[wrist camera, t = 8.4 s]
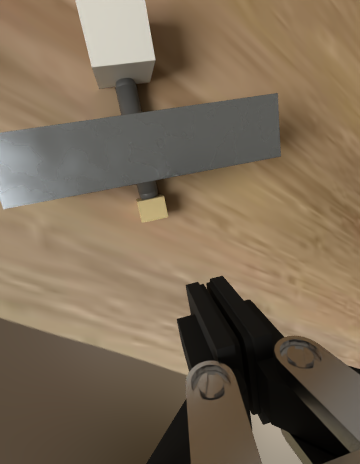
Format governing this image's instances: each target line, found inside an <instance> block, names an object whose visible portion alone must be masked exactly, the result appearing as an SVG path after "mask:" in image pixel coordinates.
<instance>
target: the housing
mask: <svg viewBox="0 0 360 464" xmlns="http://www.w3.org/2000/svg"><path fill="white" fill-rule="evenodd" d="M280 156H281V151H280V131H279V111H278V93H275V94H268V95H261V96H254V97H247V98H240V99H233V100H226V101H219V102H212V103H205V104H198V105H191V106H184V107H177V108H170V109H163V110H156V111H149V112H142V113H135V114H128V115H121V116H114V117H107V118H100V119H93V120H86V121H79V122H72V123H65V124H58V125H51V126H44V127H37V128H30V129H23V130H16V131H9V132H2V133H0V201H1V204H2V206H3V209H6V208H12V207H17V206H22V205H27V204H33V203H38V202H43V201H49V200H54V199H59V198H64V197H70V196H75V195H80V194H85V193H91V192H96V191H101V190H106V189H112V188H117V187H122V186H128V185H133V184H138V183H143V182H149V181H154V180H159V179H164V178H170V177H175V176H180V175H185V174H191V173H196V172H201V171H207V170H212V169H217V168H222V167H228V166H233V165H238V164H243V163H249V162H254V161H259V160H264V159H270V158H275V157H280Z"/></svg>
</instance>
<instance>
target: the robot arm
mask: <svg viewBox="0 0 360 464" xmlns="http://www.w3.org/2000/svg"><path fill="white" fill-rule="evenodd" d="M186 290H187V296H188V301H189V306H190V312H191V315H190V316H186V317H183V318H179V319H177V323H178V328H179V333H180V338H181V342H182V346H183V350H184V354H185V358H186V361H187V365H188V369H189V373H188V375H187V378H186V385H185V386H186V400H185V402H184V404H183V405H182V407H181V408H180V410H179V412H178V413H177V415H176V416H175V418H174V420H173V421H172V423H171V424H170V426H169V428H168V429H167V431H166V433H165V434H164V436H163V438H162V439H161V441H160V442H159V444H158V446H157V447H156V449H155V451H154V452H153V454H152V455H151V457H150V459H149V460H148V462H147V464H262V462H261V459H260V456H259V452H258V449H257V446H256V443H255V440H254V436H253V433H252V424H251V416H250V411H251V413H252V414H253V415H255V414H258V416H259V418H260V420H261V421H262V424H267V423H270V422H271V424H272V425H274V426H276V427H279V428H281V432H282V434H283V436H284V437H285V440H286V441H287V443H288V444H289V445H290V447H291V448H292V449H293V451H294V452H295V454H296V455H297V456H298V458H299V459H300V460H301V462H302V463H303V464H360V369H358V368H354V367H351V366H347V365H346V364H345V363H343V362H342V361H341V360H339V359H338V358H337V357H335V356H334V355H333V354H331V353H330V352H329V351H327V350H326V349H325V348H323V347H322V346H321V345H319V344H318V343H316V342H314V341H313V340H311V339H308V338H305V337H301V336H288V337H284V336H283V335H282V334H281V333H280V332H279V331H278V330H277V329H276V328H275V326H274V325H273V324H272V323H271V322H270V321H269V320H268V319H267V318H266V316H265V315H264V314H263V313H262V312H261V311H260V310H259V309H258V308H257V307H256V305H255V304H254V303H253V302H252V301H251V300H245V301H244V300H243V299H242V298H241V297H240V296H239V295H238V293H237V292H236V291H235V290H234V289H233V287H232V286H231V285H230V284H229V283H228V282H227V280H226V279H225V278H224V277H223V276H219V277H216V278H212V279H210V282H209V283H207V289H206V287H205V286H204V284H201V285H200V284H199V283H198V282H196V283H192V284H188V285H186Z"/></svg>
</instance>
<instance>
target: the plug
mask: <svg viewBox="0 0 360 464" xmlns="http://www.w3.org/2000/svg"><path fill="white" fill-rule="evenodd" d="M76 4H77V8H78V12H79V16H80V21H81V25H82V29H83V33H84V37H85V41H86V45H87V49H88V53H89V57H90V61H91V66H92V69H93V72H94V75H95V78H96V81H97V84H98V87H99V89H101V88H109V87H115V89H116V93H117V98H118V102H119V107H120V111H121V115H128V114H135V113H142V110H141V105H140V100H139V96H138V91H137V86H136V84H141V83H148V82H150V80H151V76H152V72H153V68H154V64H155V55H154V49H153V44H152V38H151V32H150V27H149V21H148V15H147V10H146V4H145V0H76ZM137 187H138V191H139V195H140V197H141V198H140V199H136V200H137V204H138V208H139V213H140V217H141V221H142V223H144V222H148V221H153V220H157V219H162V218H166V217H168V214H167V209H166V204H165V199H164V196H163V195H161V194H159V195H158V190H157V185H156V180H154V181H149V182H143V183H138V184H137Z"/></svg>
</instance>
